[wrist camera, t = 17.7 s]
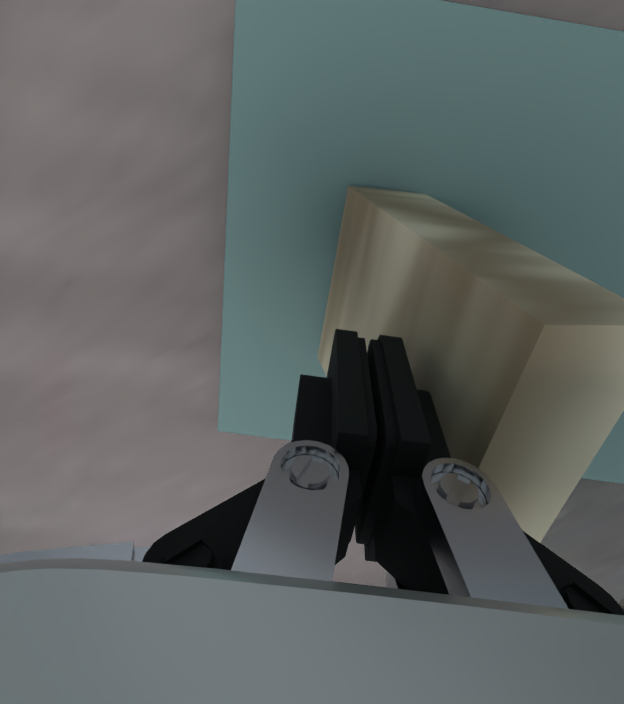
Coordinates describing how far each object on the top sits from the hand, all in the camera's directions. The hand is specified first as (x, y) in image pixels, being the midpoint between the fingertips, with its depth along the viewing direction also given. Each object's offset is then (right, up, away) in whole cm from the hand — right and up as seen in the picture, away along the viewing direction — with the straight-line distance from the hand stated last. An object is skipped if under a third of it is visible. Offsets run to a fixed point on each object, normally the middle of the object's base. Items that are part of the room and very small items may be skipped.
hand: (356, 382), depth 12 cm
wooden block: (+1, +4, +6) cm, 7 cm away
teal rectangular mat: (+6, +3, +7) cm, 10 cm away
